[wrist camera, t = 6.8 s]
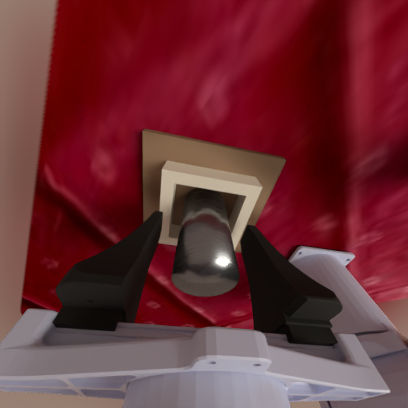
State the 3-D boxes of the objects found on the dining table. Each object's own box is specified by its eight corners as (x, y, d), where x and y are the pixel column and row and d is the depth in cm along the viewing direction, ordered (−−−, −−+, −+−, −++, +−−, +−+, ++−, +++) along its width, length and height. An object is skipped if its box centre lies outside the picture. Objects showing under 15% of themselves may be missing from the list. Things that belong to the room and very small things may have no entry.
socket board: (240, 247, 21) (245, 266, 19) (145, 234, 20) (137, 253, 17) (282, 156, 15) (297, 168, 12) (145, 128, 13) (133, 135, 11)
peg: (216, 223, 18) (225, 300, 11) (180, 215, 17) (166, 291, 10) (230, 192, 16) (250, 264, 9) (189, 181, 15) (178, 250, 8)
